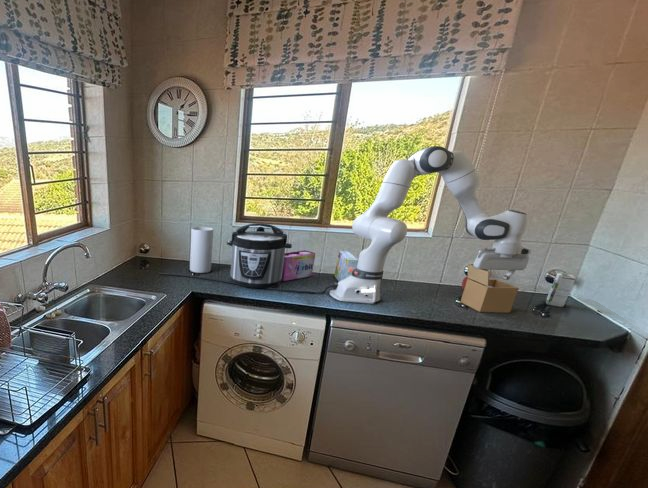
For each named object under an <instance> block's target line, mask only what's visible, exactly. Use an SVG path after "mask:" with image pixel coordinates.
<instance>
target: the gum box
mask: <svg viewBox="0 0 648 488" xmlns="http://www.w3.org/2000/svg"><path fill="white" fill-rule="evenodd" d="M315 259H316V252H313V251H309V250H297V251H290V252H285V255H284V263H283V271H282V279H281V282H287V281H291V280H297V279H302V278H308V277H312V276H313V270H314V264H315Z"/></svg>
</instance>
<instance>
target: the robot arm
mask: <svg viewBox="0 0 648 488" xmlns="http://www.w3.org/2000/svg"><path fill="white" fill-rule="evenodd" d="M436 173H438V174H439V175H440V176H441V177H442V179H443V181H444V184H445V186H446V187H447V190H448V191H449V192H450V193H451V195H452V196H453V197H454V198H455V199H456V200H457V202H458V204H459V206H460V208H461V210H462V213H463V215H464V217H465V226H464V228H465V231H466V233H467V234H468V235H470V236H472V237H475V238H477V239H478V240H482V241H493V243H492V246H491V248H487V247H484V248H481V249H480V250H479V251H478V253H477V256H476V258H475V259H474V262H473V265H472V266H474V268H476V269H482V270H485V271H487V272H489V271H493V270H494V271H507V273H506V274H503V277H502V279H503V280H506V281H508V280H510V279H511V276H513V275H514V274H515V272H516V271H524V270H525V269H526V268H527V266H528V263H529V260H530V257H529V255H530V254H531V252H532V250H531V249H530V248H527V247H524V246H522V245H521V244H522V238H523V236H524V235H525V232H526V230H527V226H528V223H529V215H528V213H525V212H523V211H519V210H514V209H507V210H505V211H503V212H501V213H498V214H495V215H491V216H490V215H489V214H487V213H485V211H484V210H483V209H482V206H481V204H480V202H479V200H478V198H477V190H478V189H479V187H480V185H481V181H480V177H479V173H478V171H477V169H476V167H475V165H474V163H473V162H472V161H471V159H470V158H469V156H468V155H467V154H466V153H465V152H464V151H463V150H460V149H457V150H451V151H450V150H449V149H447V148H445V147H443V146H440V145H434V146H429V147H425V148H422V149H420V150H419V149H418V150H417V151H415V152H413V153H412V154H411V155H409V157H408V158H406V159H402V158H401V159H398V160H395V161H394V162H392V163H391V165H390V167H389V168H388V170H387V172H386V174H385V176H384V178H383V180H382V183H381V185H380V188H379V190H378V192H377V195H376V197H375V199H374V201H373V202H372V203H371V205H370V206H369V208H367V209H366V210H365V211H364V212H363V213H362V214H359V215H358V216H356V217H355V219H354V220H353V221H352V225H351V228H352V230H351V231H352V232H353V233H354V234H355V235H357V236H359V237H361V238H362V239H367V240H371V242H370V244H369V246H368V247H365V248H364V249H362V250H361V251H360V252H359V255H358V258H357V259H358V264H357V267H356V268H355V269H353V268H349V269H348V271H349V272H352V275H350V276H349V277H347V278H345V279H343V280H341V281H337V282H336V281H333V282H332V284H331V285H328V286H326V287H325V288H324V290H322V291H319V292H318V291H312V290H310V291H309V290H298V289H297V290H296V289H286V288H285V289H284V288H276V287H270V288H269V287H268V288H262V289H263V290H270V291H279V292H280V291H281V292H288V293H301V294H312V295H314V294H315V295H316V294H317V295H319V294H324V293H326V292H327V290H328V289H330V288H332V290H330V291H329V295H330V296H331V297H332V298H333V299H335V300H337V301H339V302H349V303H358V304H359V303H360V304H361V303H362V304H373V305H374V304H376V302H379V301H381V282H382V280H383V277H384V267H385V263H386V260H387V256H388V255H389V252H390V251H391V250H392V249H393V247H394V246H395V245H397V244H399V243H401V242H402V241H403V240H405V238H406V236H407V233H408V226H407V224H406V222H403V221H402V220H400V219H397V218H393V217H389V215H390V214H391V213H392V212H393V211H395V210H397V209H400V208H401V207H402V206H403V204H404V202H405V200H406V197H407V195H408V193H409V190H410V187H411V185H412V182H413V181H414V179H415V178H416V177H417V176H427V175H431V174H436ZM158 274H159V275H162V276H163V275H164V276H175V277H176V276H178V277H186V278H195V279H202V280H208V281H215V282H222V283H226V284H232V285H237V284H236V283H234V282H233V281H230V280H224V279H219V278H213V277H207V276H206V277H205V276H199V275H190V274H182V273H169V272H158Z"/></svg>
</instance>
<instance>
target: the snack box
mask: <svg viewBox="0 0 648 488" xmlns="http://www.w3.org/2000/svg"><path fill="white" fill-rule="evenodd" d="M358 259H359V258H357V257H356V256H355V255H354V254H352V253H351V252H350V251H344V250H339V251H338V255H337V260H336V265H335V270H334V275H333V276H334V278H335V279H336V281H337V282H339V281H341V280H343V279H345V278H347V277H349V276H350V275H352V272H349V271H348V269H349V268H353V269H355V268H356V267H357V264H358Z"/></svg>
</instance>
